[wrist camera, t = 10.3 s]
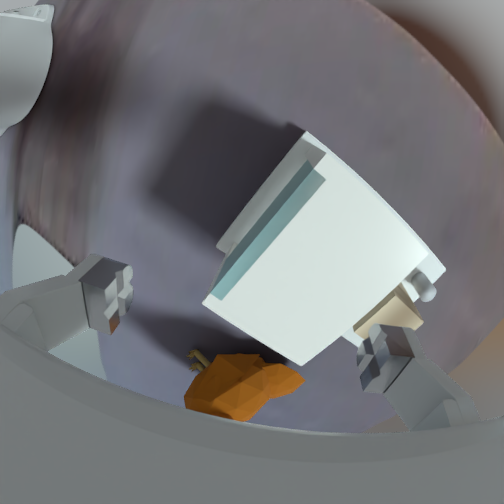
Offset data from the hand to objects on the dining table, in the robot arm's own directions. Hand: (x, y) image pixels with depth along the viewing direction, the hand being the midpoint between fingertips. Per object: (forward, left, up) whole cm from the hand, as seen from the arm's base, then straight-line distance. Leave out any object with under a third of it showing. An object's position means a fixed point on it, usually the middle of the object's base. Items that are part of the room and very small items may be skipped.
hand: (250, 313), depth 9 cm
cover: (+4, 0, -14) cm, 14 cm away
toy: (+10, -17, -16) cm, 25 cm away
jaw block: (+12, 0, -14) cm, 18 cm away
